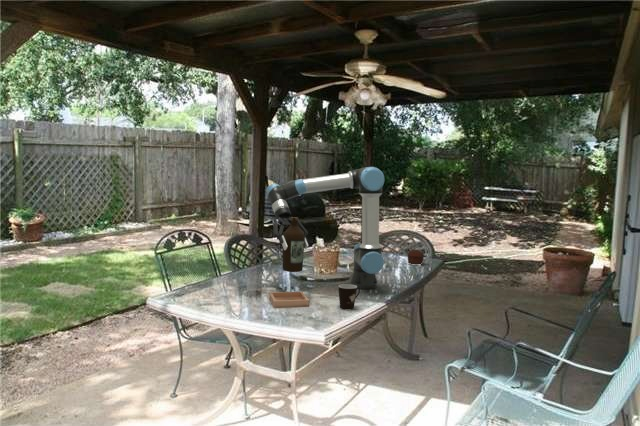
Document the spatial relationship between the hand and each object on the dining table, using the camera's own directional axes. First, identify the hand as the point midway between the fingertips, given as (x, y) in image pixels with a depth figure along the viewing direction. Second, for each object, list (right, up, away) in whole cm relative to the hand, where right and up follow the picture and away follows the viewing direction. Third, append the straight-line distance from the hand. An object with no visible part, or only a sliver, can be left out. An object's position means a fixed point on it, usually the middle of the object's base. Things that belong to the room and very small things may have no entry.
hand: (296, 248), depth 233 cm
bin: (-4, -26, +2) cm, 26 cm away
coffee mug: (+25, -27, -3) cm, 37 cm away
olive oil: (-2, -11, +4) cm, 12 cm away
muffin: (+76, -19, +108) cm, 133 cm away
